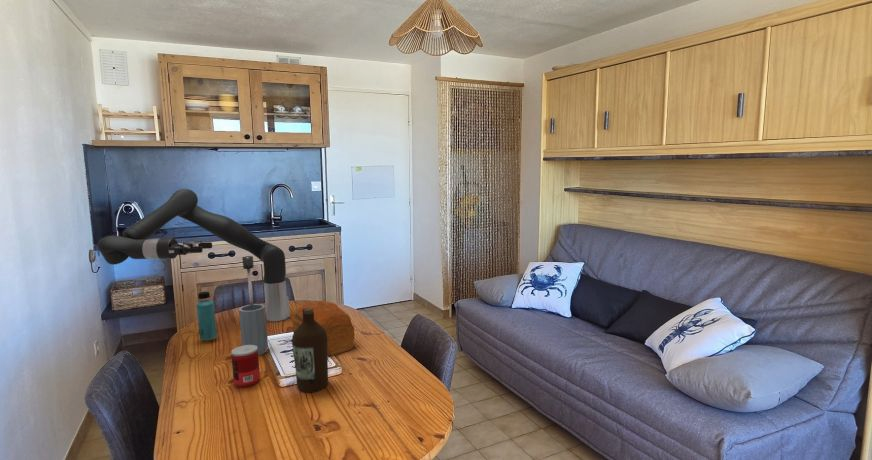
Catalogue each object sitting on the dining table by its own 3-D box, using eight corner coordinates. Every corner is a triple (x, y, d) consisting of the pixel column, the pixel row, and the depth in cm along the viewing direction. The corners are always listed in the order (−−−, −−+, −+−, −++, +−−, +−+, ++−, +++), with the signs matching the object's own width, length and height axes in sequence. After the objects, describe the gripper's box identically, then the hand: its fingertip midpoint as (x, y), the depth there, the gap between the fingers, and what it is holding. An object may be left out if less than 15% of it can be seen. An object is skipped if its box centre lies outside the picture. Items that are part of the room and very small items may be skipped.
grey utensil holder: (261, 343, 185) (257, 301, 182) (276, 348, 179) (273, 305, 177) (236, 352, 177) (232, 308, 174) (251, 358, 171) (247, 313, 169)
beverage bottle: (220, 337, 192) (216, 290, 189) (211, 344, 186) (206, 294, 183) (205, 337, 193) (200, 289, 190) (196, 343, 186) (190, 294, 183)
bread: (318, 360, 168) (315, 317, 166) (290, 339, 189) (287, 300, 187) (359, 348, 178) (356, 307, 176) (328, 329, 199) (326, 293, 197)
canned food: (265, 377, 155) (262, 345, 154) (248, 389, 148) (245, 355, 146) (246, 375, 158) (243, 343, 156) (228, 385, 150) (225, 352, 149)
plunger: (255, 317, 180) (250, 254, 176) (264, 319, 176) (259, 256, 173) (240, 321, 175) (235, 257, 171) (250, 324, 171) (244, 259, 168)
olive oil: (307, 376, 156) (302, 302, 152) (336, 380, 152) (331, 304, 149) (288, 391, 146) (282, 312, 142) (318, 395, 142) (313, 315, 139)
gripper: (149, 241, 163) (197, 240, 164) (169, 235, 177) (214, 234, 178) (151, 263, 164) (199, 261, 165) (171, 255, 178) (215, 253, 179)
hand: (207, 247), depth 171 cm, fingers open, 8 cm apart
